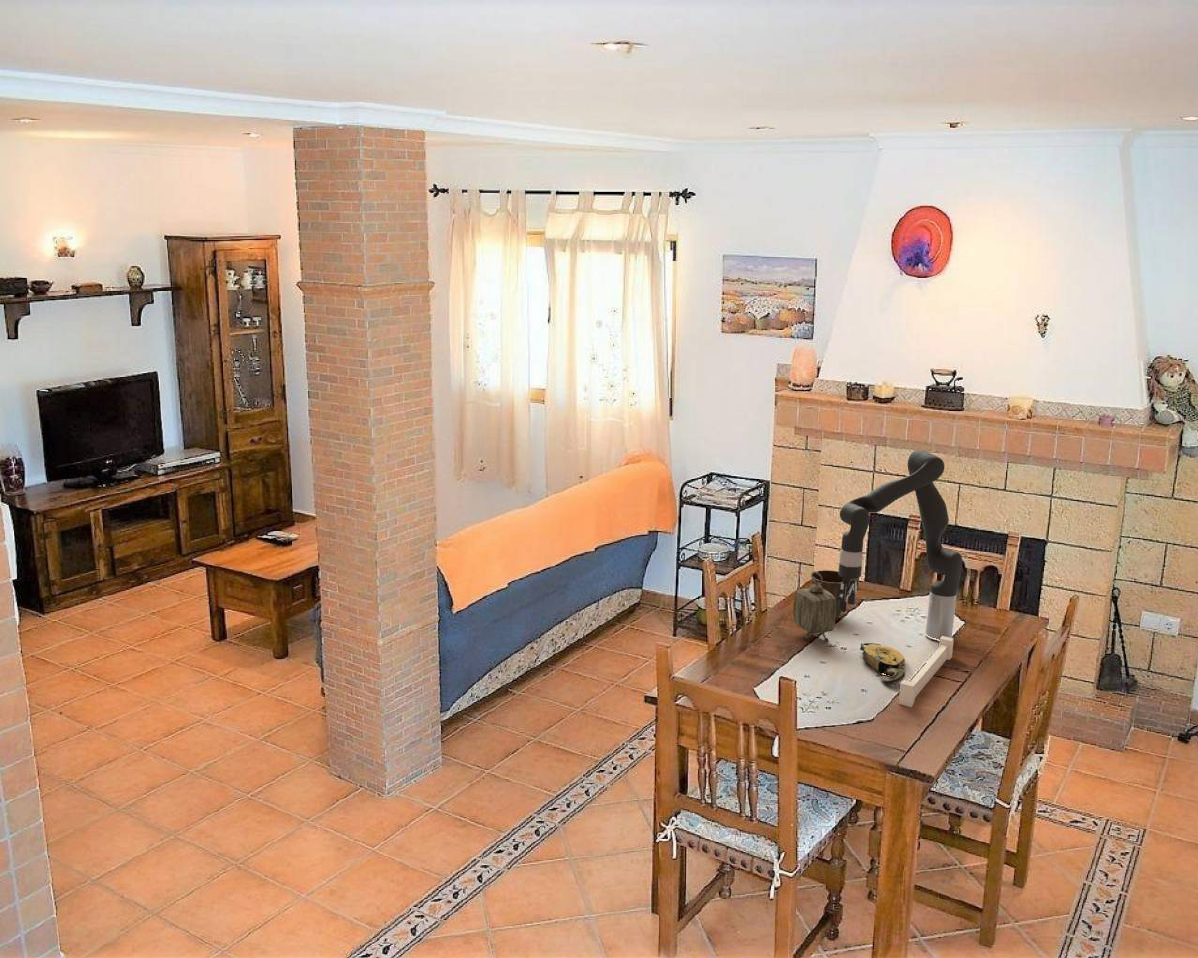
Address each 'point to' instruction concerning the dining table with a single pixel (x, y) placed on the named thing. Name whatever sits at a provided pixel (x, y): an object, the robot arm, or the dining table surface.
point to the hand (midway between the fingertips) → (846, 607)
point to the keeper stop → (925, 672)
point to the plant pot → (830, 584)
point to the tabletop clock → (815, 609)
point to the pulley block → (884, 661)
